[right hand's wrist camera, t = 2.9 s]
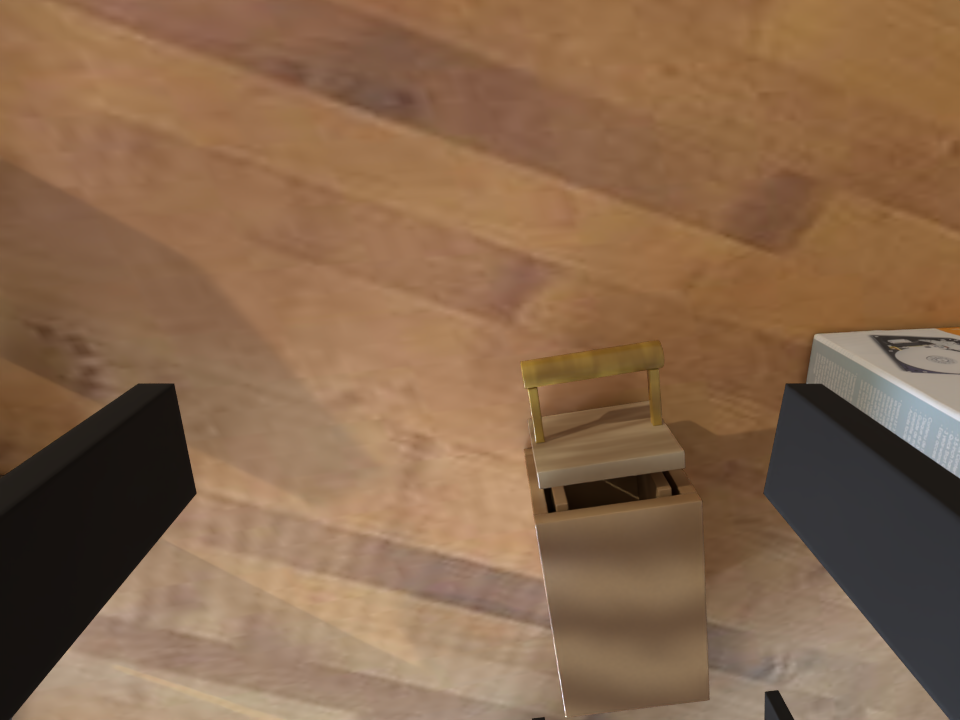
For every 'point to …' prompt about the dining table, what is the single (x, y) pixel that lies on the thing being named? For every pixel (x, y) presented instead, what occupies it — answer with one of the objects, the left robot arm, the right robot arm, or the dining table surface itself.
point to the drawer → (601, 432)
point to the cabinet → (626, 598)
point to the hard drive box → (898, 383)
